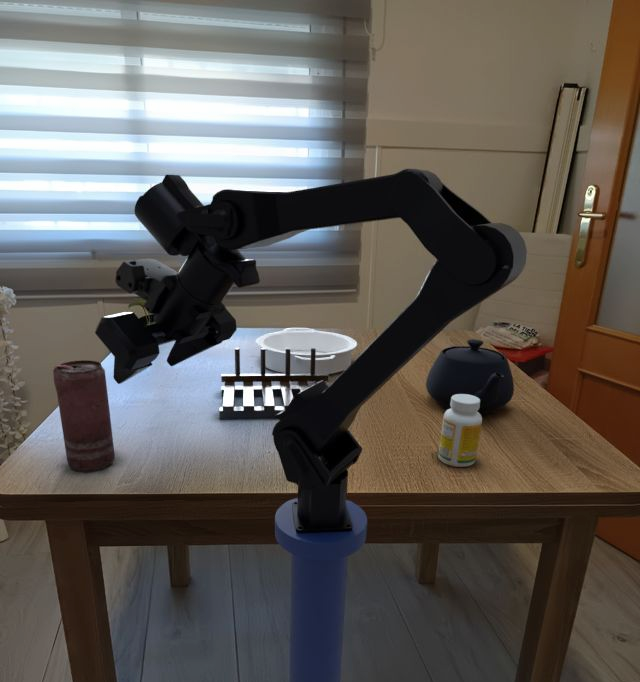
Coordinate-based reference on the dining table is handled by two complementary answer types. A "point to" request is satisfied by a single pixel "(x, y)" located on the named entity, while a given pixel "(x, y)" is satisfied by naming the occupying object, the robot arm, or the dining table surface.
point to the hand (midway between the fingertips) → (144, 371)
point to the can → (84, 414)
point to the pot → (307, 350)
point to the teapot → (471, 376)
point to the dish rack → (263, 389)
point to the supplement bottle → (460, 431)
